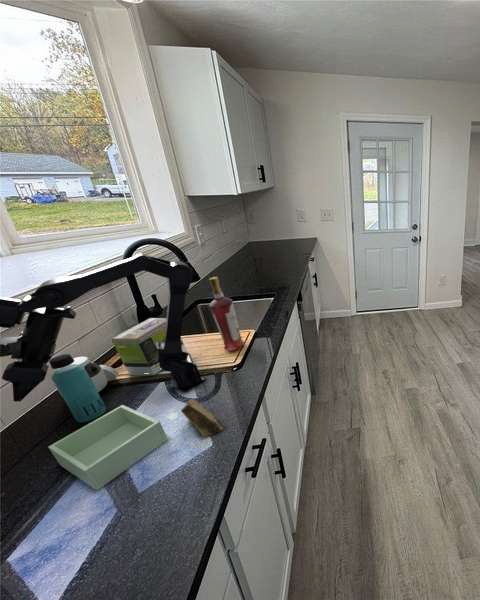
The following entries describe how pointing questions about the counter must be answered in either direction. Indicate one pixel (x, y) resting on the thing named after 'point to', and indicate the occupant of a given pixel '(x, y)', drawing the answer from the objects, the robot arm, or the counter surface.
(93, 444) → the shallow rectangular tray
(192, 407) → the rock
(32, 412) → the counter surface
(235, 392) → the counter surface
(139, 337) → the tea box
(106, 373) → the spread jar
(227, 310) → the liquor
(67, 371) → the beverage bottle
